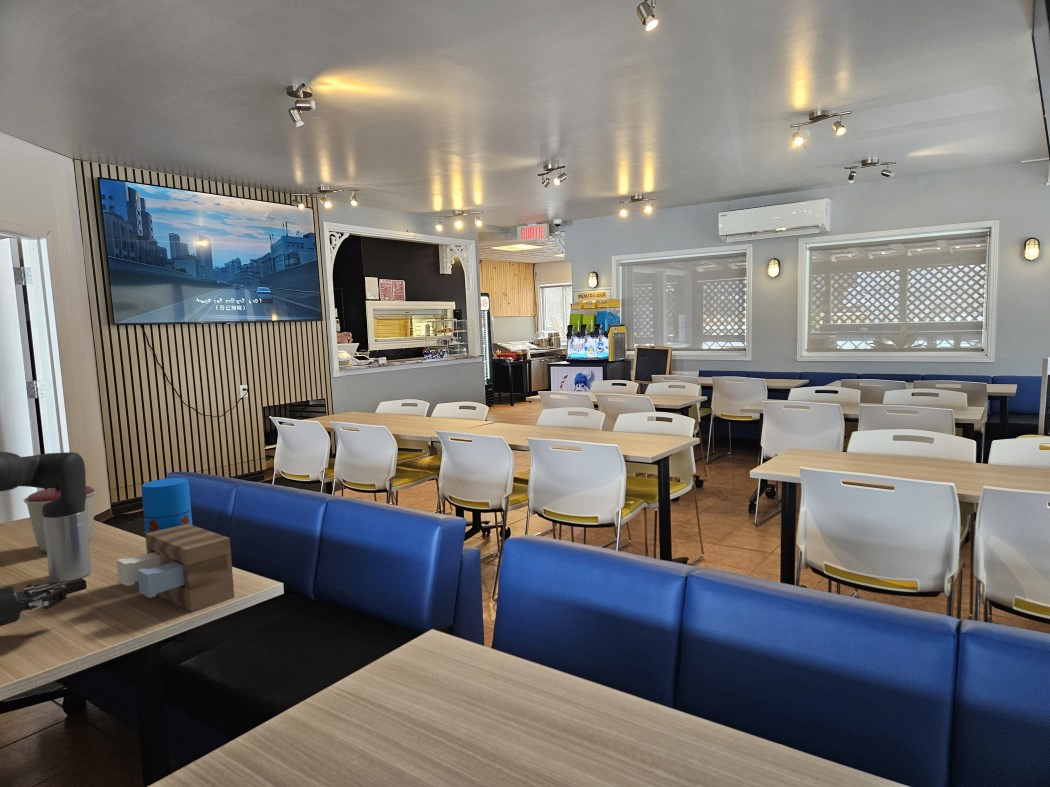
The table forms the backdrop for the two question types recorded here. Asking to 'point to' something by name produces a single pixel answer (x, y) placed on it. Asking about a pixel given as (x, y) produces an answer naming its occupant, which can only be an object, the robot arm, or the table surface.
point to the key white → (136, 567)
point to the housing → (195, 564)
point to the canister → (48, 495)
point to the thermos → (166, 504)
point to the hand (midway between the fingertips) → (85, 583)
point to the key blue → (160, 578)
